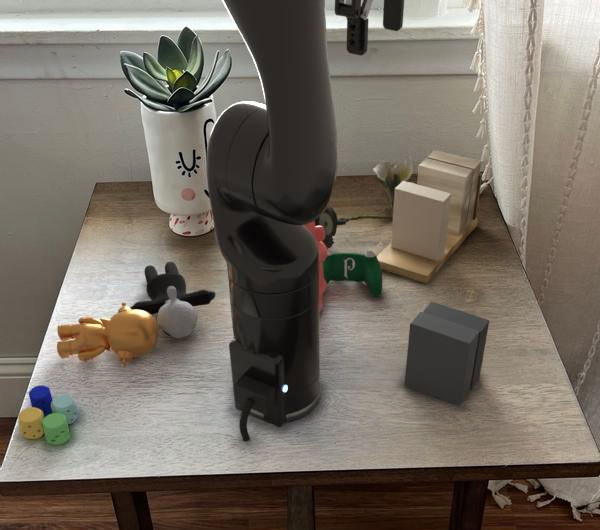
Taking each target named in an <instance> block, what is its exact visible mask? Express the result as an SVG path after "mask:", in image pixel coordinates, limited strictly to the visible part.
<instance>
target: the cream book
mask: <svg viewBox="0 0 600 530" xmlns="http://www.w3.org/2000/svg"><path fill="white" fill-rule="evenodd" d="M414 183H415V182H412V183H410V182H409V181H402V182H401V183H400V184H399V185H398V186H397V187H396V188H395V194H394V209H393V218H392V224H391V225H392V227H391V238H390V240H391V242H390V243H391V247H392V248H395V249H399V250H402V251H405V252H408V253H412V254H415V255H418V256H422V257H425V258H428V259H431V260H435V261H437V260H438V259H439V258H440V257H441V256H442V255H443V254H444V252H445V243H446V235H447V226H448V218H449V210H450V201H451V193H447V192H443V191H440V190H436V189H432V188H428V187H425V186H421V185H417V184H414Z"/></svg>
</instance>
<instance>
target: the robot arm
mask: <svg viewBox="0 0 600 530" xmlns="http://www.w3.org/2000/svg"><path fill="white" fill-rule="evenodd" d="M221 1H222V3H223V5H224V7H225V8H226V10H227V12H228V14H229V16H230V18H231V19H232V21H233V22H234V25H235V27H236V28H237V30H238V32H239V34H240V35H241V37H242V39H243V41H244V43H245V46H246V47H247V49H248V52H249V53H250V55H251V57H252V59H253V63H254V64H255V67H256V70H257V73H258V76H259V79H260V83H261V88H262V92H263V97H264V103H265V104H263V103H259V102H256V101H249V100H248V101H247V100H246V101H240V102H236V103H234V104H231V105H230V106H228V107H227V108H226V109H225V110H224V111H222V113H221V114H220V115H219V117H218V118H217V120H216V121H215V123H214V125H213V128H212V130H211V132H210V135H209V139H208V144H207V147H206V148H207V149H206V159H205V161H206V162H205V163H206V164H205V169H206V184H207V190H208V197H209V203H210V208H211V209H210V210H211V215H212V221H213V228H214V235H215V240H216V245H217V247H218V250H219V251H220V254H221V255H222V257H223V259H224V261H225V262H226V269H227V271H226V272H227V280H228V291H229V303H230V313H231V314H230V315H231V324H232V336H233V339H232V340H231V341H230V342H229V343H228V350H229V359H230V370H231V380H232V390H233V400H234V409H236V410H238V411H240V412H241V413H240V417H239V425H238V426H239V433H240V435H241V438H242V441H243V442H245V443H247V442H249V441H250V440H251V437H250V433H249V431H248V419H249V416H252V417H253V418H254V419H258V420H261V421H263V422H266V423H268V424H271V425H272V426H275V427H277V428H282V427H283V426H284V425H285V424H286V423H287V422H292V421H294V420H298V419H301V418H303V417H305V416H307V415H308V414H310V413H312V412H313V410H314V409H315V408H316V407H317V405H318V404H319V402H320V400H321V393H322V391H321V380H320V378H321V377H320V374H321V373H320V372H321V371H320V369H321V367H320V366H321V365H320V312H319V247H318V243H317V241H316V239H315V237H314V236H313V234H312V233H311V232H310V231H309V230H308V229H307V228H306V227H305V226H304V225H305V224H309V223H311V222H313V221H315V220H316V219H317V218H318V217H320V215H321V214H322V213H323V212H324V210H325V209H326V207H327V206H328V205H330V204H329V203H330V202H331V199H332V196H333V193H334V190H335V186H336V182H337V177H338V170H339V169H338V167H339V143H338V133H337V132H338V131H337V124H336V123H337V122H336V114H335V105H334V99H333V98H334V97H333V89H332V88H333V87H332V80H331V72H330V70H331V69H330V63H329V52H328V38H327V37H328V36H327V19H326V17H327V16H326V0H221ZM373 2H374V0H363V1H362V0H334V14H335V16H338V17H345V18H346V51H347V53H349V54H351V55H357V56H363V55H365V54H367V52H368V45H369V44H368V42H369V14H370V11H371V7H372V4H373ZM404 9H405V0H383V12H382V14H383V15H382V27H383V28H384V29H385V30H389V31H394V32H398V31H400V30H401V29H402V28H403V26H404V12H405V11H404Z"/></svg>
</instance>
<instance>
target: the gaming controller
mask: <svg viewBox="0 0 600 530" xmlns="http://www.w3.org/2000/svg"><path fill="white" fill-rule="evenodd" d="M327 251H328V254H327V257H326V259H325V260H324V261H323V262H322V266H323V273H324V279H325V281H326V283H327V285H328V284H329V283H330V282H331V281H333V282H356V283H362V282H364V283H365V285H366V286H367V289H368V291H369V294H370V295H371V296H373V297H379V296H381V295H382V293H383V292H382V291H383V271H382V269H381V268H380V264H379V261H378V259H377V256H378V255H376V253H375V252H373V251H372V250H367V251H365V253H360V252H333V250H331V249H327Z"/></svg>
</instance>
